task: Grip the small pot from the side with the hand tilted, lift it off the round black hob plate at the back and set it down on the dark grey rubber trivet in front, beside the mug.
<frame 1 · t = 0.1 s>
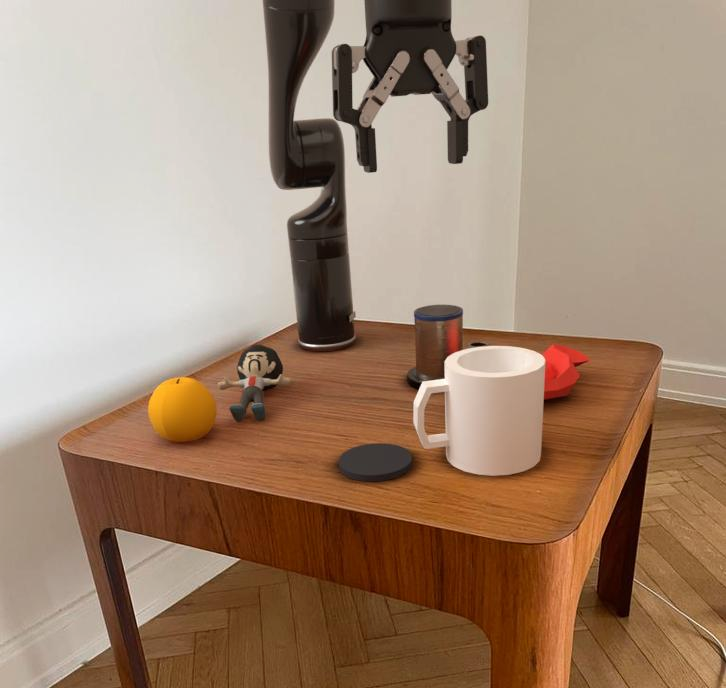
hand: (413, 167, 71), 29 cm above the table, tool pointing down, fingers open, 8 cm apart
trivet: (375, 464, 81), on the table
pot: (439, 371, 103), point 1 cm above the table, touching hob
mug: (482, 456, 81), on the table
orange: (187, 438, 92), on the table
figurine: (258, 403, 101), on the table
hob: (439, 380, 103), on the table
animal figurine: (538, 390, 98), on the table
vase: (477, 414, 92), on the table
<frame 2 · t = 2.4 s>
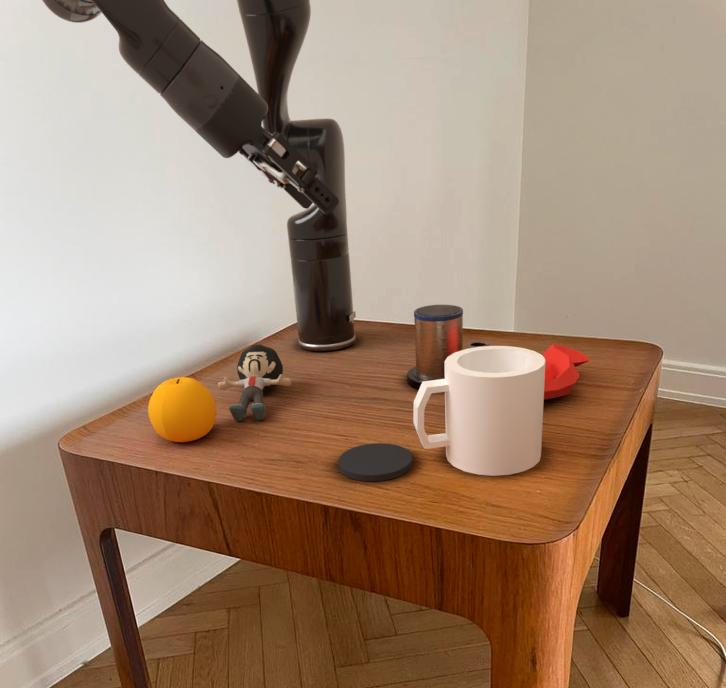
hand: (322, 205, 89), 24 cm above the table, tool tilted 45°, fingers open, 8 cm apart
nothing on the table moved.
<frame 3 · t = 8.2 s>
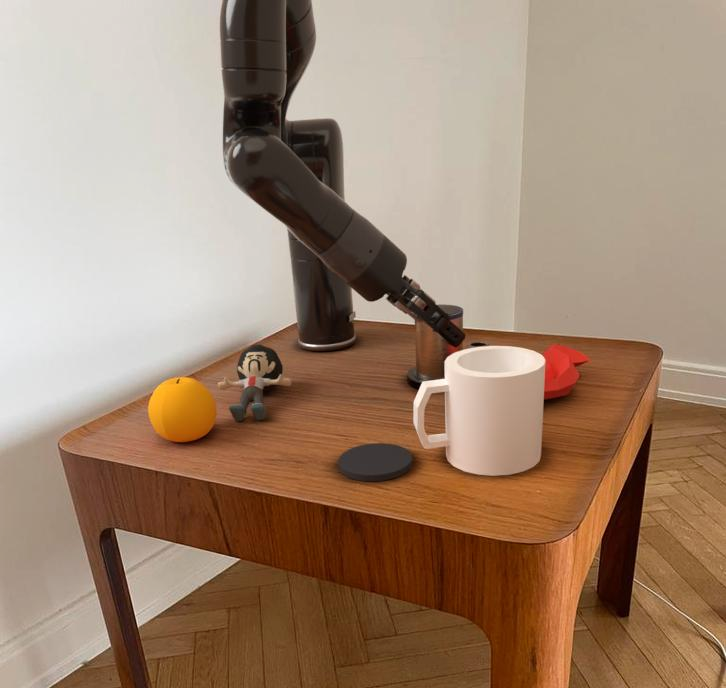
hand: (450, 334, 101), 6 cm above the table, tool tilted 45°, fingers closed on pot, 6 cm apart
pot: (439, 371, 103), point 1 cm above the table, touching gripper, hob
everything else where it was.
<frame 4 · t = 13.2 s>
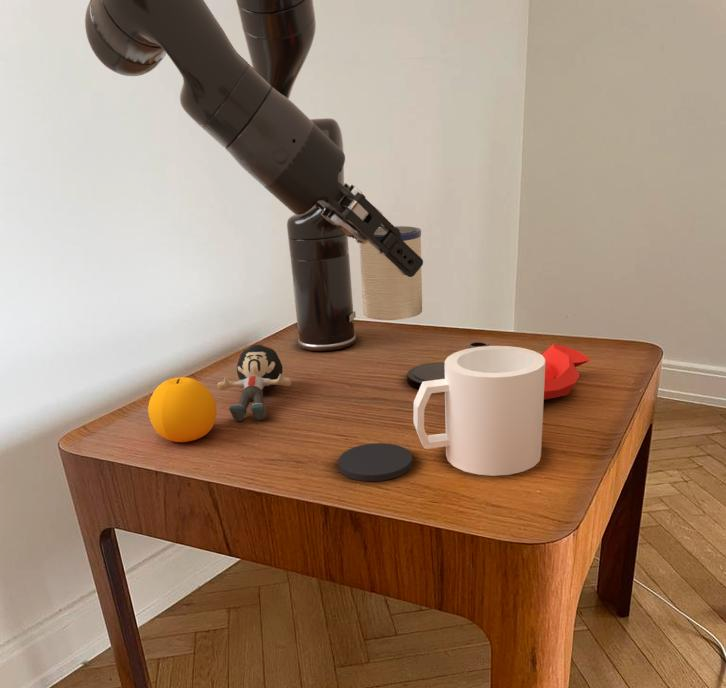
hand: (405, 263, 79), 19 cm above the table, tool tilted 45°, fingers closed on pot, 6 cm apart
pot: (392, 312, 81), point 15 cm above the table, touching gripper
everything else where it was.
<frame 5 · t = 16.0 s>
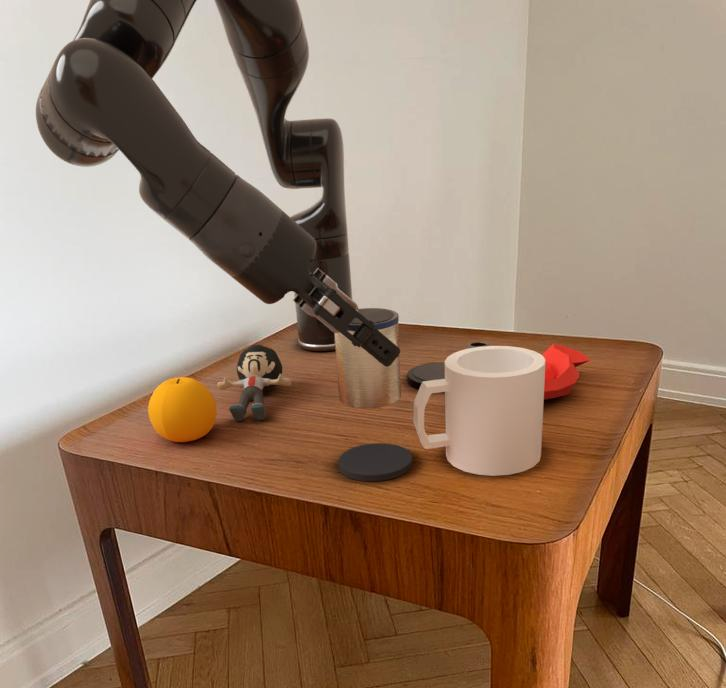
hand: (382, 348, 75), 13 cm above the table, tool tilted 45°, fingers closed on pot, 6 cm apart
pot: (370, 397, 77), point 8 cm above the table, touching gripper
everything else where it was.
when the fingers open (6 cm above the table, at t = 18.5 s): pot stays where it is, resting on trivet.
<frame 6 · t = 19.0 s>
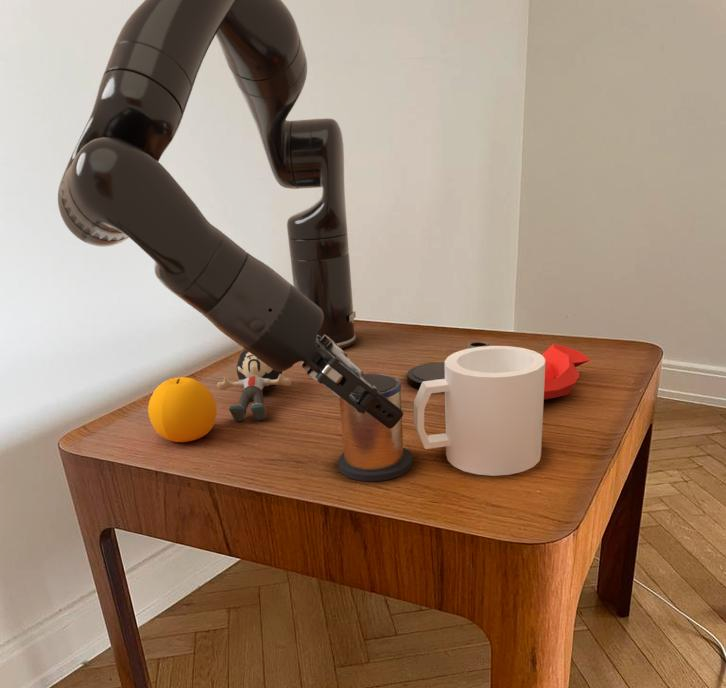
hand: (384, 406, 78), 7 cm above the table, tool tilted 45°, fingers open, 8 cm apart
pot: (374, 458, 81), point 1 cm above the table, touching trivet
everything else where it was.
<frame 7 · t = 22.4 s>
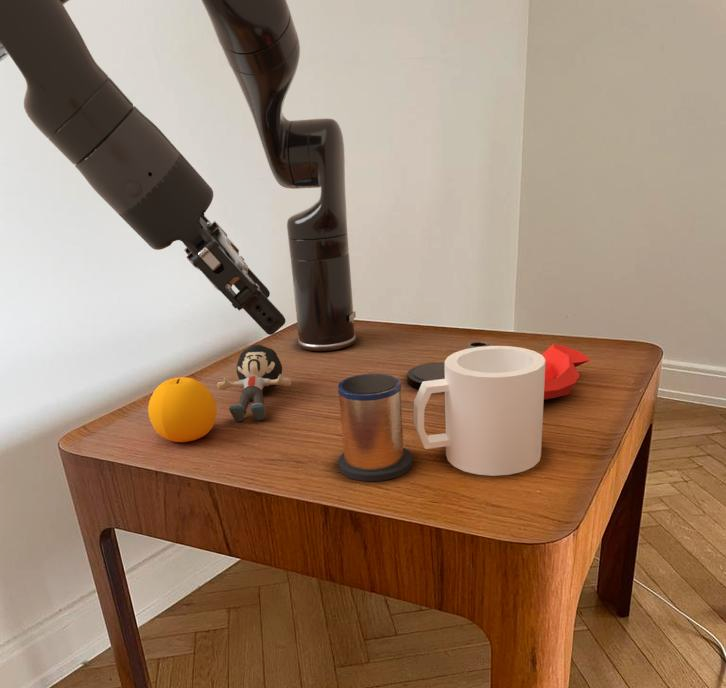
hand: (270, 313, 73), 17 cm above the table, tool tilted 35°, fingers open, 8 cm apart
nothing on the table moved.
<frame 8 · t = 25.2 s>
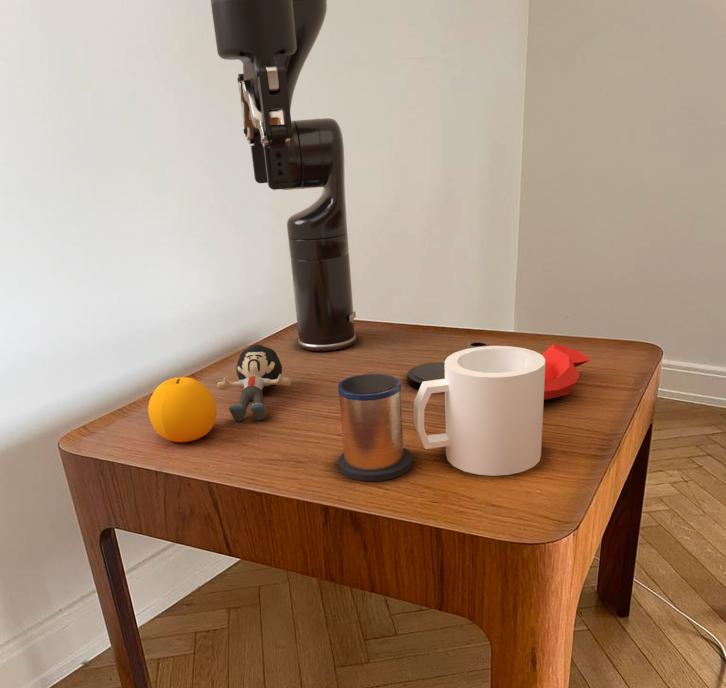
hand: (272, 185, 76), 28 cm above the table, tool pointing down, fingers open, 8 cm apart
nothing on the table moved.
at the end: pot 0.1 cm off-centre on the trivet, point 0.8 cm above the trivet's base; pot tilted 0°; the gripper is holding nothing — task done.
